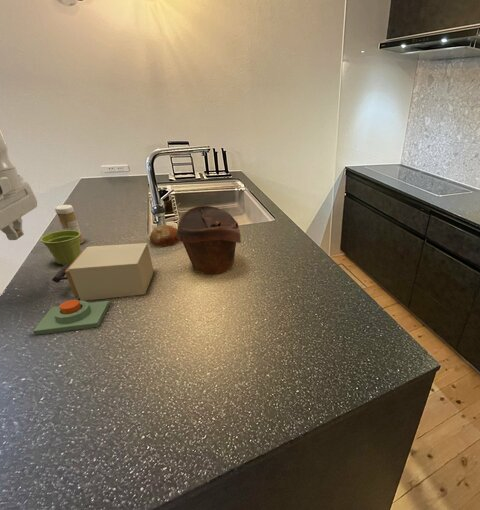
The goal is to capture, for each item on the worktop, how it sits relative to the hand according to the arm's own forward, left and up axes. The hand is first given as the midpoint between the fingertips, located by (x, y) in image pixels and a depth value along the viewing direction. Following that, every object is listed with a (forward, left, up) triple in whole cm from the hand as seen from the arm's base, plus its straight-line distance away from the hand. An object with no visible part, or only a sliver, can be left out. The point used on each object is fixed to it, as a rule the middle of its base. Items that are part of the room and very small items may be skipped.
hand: (16, 237), depth 74 cm
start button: (+12, -14, -14) cm, 23 cm away
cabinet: (+18, 0, -16) cm, 24 cm away
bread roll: (+26, +29, -16) cm, 42 cm away
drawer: (+14, 0, -15) cm, 21 cm away
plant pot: (0, +18, -16) cm, 24 cm away
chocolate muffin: (+43, +7, -16) cm, 47 cm away
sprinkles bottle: (-3, +32, -16) cm, 36 cm away
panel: (+12, -14, -16) cm, 25 cm away
